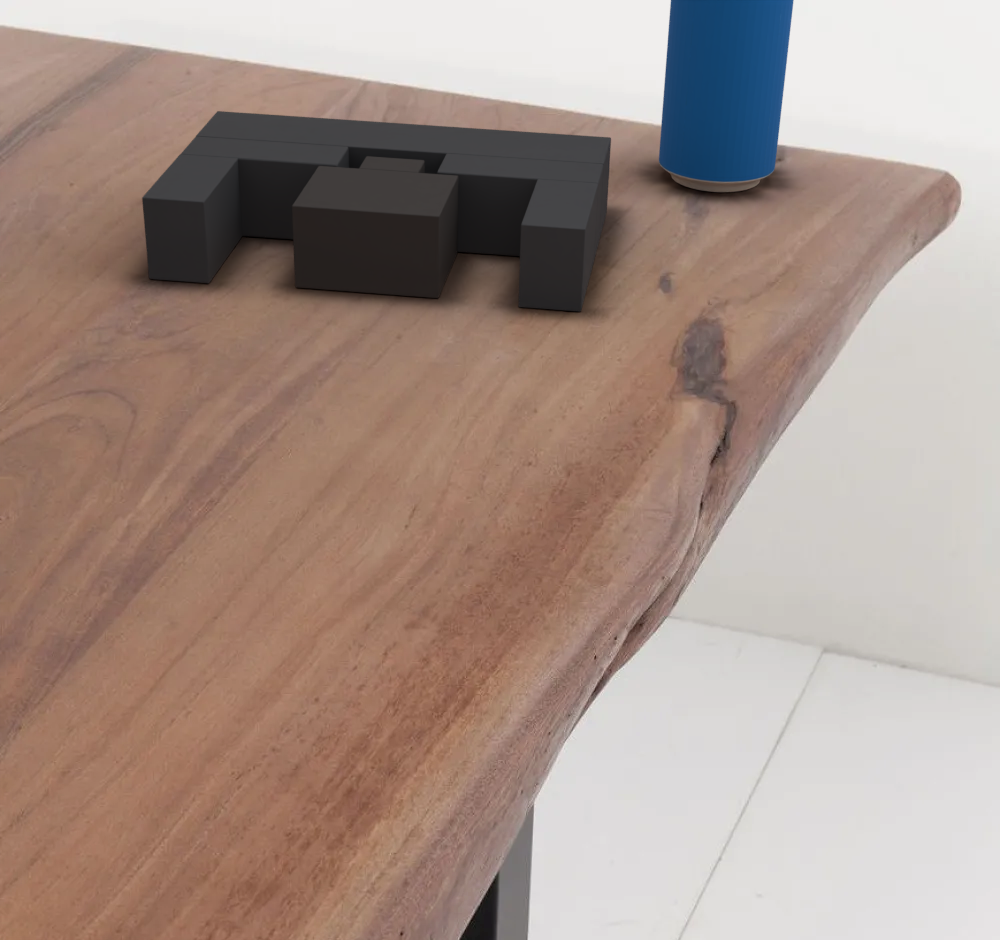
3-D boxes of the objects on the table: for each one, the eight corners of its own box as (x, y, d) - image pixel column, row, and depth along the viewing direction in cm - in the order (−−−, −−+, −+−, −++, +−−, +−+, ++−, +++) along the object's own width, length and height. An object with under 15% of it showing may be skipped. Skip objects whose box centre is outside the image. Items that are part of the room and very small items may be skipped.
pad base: (148, 279, 91) (141, 197, 89) (221, 185, 102) (217, 110, 100) (581, 311, 89) (585, 229, 87) (606, 212, 100) (611, 137, 98)
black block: (294, 287, 91) (291, 205, 88) (329, 230, 97) (326, 152, 95) (438, 298, 90) (439, 216, 88) (463, 240, 96) (464, 162, 94)
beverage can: (746, 156, 109) (769, -67, 102) (791, 192, 104) (818, -39, 97) (641, 163, 107) (657, -63, 100) (681, 200, 102) (701, -34, 95)
